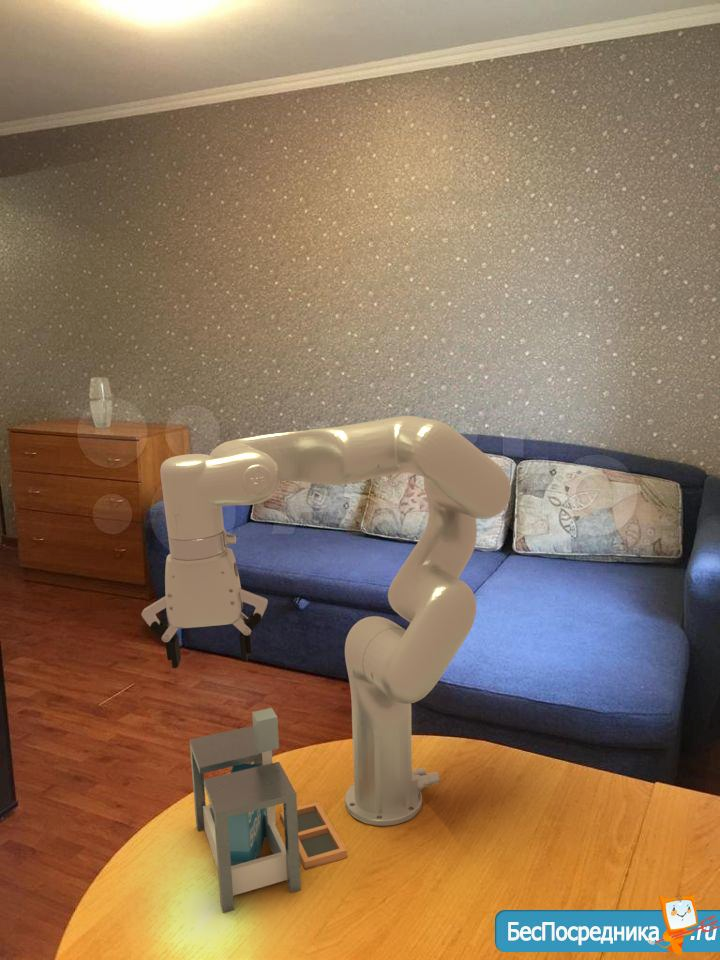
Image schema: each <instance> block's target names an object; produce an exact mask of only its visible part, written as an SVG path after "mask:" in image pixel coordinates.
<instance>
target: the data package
mask: <svg viewBox="0 0 720 960" xmlns="http://www.w3.org/2000/svg"><path fill="white" fill-rule="evenodd" d="M258 766H263V764H252V763H245V764H241V765H236V766H232V767H231V770H230V772H229V773H233V772H237V771H241V770H246V769H250V768H254V767H258ZM264 812H265V808H264V809H260V810H256V811H252V812H248V813H244V814H240V815H236V816H233V817H229V818H228V830H229V845H230V859H231V866H234V865H237V864H241V863H244V862H248V861H251V860H255V859H259V858H260V856H261V852H262V849H263V846H264V843H265V840H266V837H265V820H264Z"/></svg>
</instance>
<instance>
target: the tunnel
mask: <svg viewBox="0 0 720 960" xmlns="http://www.w3.org/2000/svg"><path fill="white" fill-rule="evenodd" d="M189 750H190V763H191V775H192V787H193V800H194V812H195V813H194V815H195V826H196V829H197V831H198V832H200V831H205V828H204V815H203V806H206V805H207V804H206V796H207V799H208V801H209V803H210V804H211V807H212V810H213V813H214V820H215V834H216V847H217V861H218V869H217V872H218V886H219V900H220V901H219V902H220V907H221V908H220V909H221V911H222V914H225V913H228V912H232V911H235V905H234V896H233V888H232V873H231V859H230V845H229V830H228V818H229V817H233V816H236V815H240V814H244V813H248V812H252V811H256V810H260V809H264V808H267V807H271V806H275V807H276V806H279V805H281V804H283V811H284V825H283V827H284V826H285V827H284V841H285V842H284V845H285V847H286V864H287V880H286V883H287V888H288V889H289V890H288V891H289V892H290V893H291V894H292V893H294V892H297V891H301V890H302V883H301V882H302V881H301V860H300V858H299V839H298V818H297V807H298V803H297V799H298V798H297V792H296V790H295V788H294V787H293V785H292V783H291V781H290V779H289V777H288V776H287V774H286V772H285V770H284V768H283V767H282V765H281V763H280V761H276V762H272V763H271V764H267V765H263V766H258V767H254V768H250V769H246V770H241V771H237V772H233V773H230V772H229V773H225V774H221V775H220V774H219V775H218V776H217V775H216V776H212V777H209V778H204V774H205V773H210V772H214V771H219V770H224V769H227V768H232V767H233V766H236V765H241V764H250V763H251V764H263V762H262V753H259V752H258V750H257V748H256V746H255V744H254V735H253V725H250V726H249V725H248V726H244V727H242V728H241V727H240V728H235V729H232V730H226V731H221V732H217V733H213V734H208V735H203V736H199V737H195V738H190V739H189ZM272 758H274V750H272ZM205 793H206V794H205ZM210 804H209V805H210Z"/></svg>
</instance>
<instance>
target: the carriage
mask: <svg viewBox="0 0 720 960" xmlns="http://www.w3.org/2000/svg"><path fill="white" fill-rule="evenodd" d="M251 713H252V714H251V717H252V726H253V735H254V744H255V746H256V748H257V750H258V752H259V753H262V762H263V765H267V764H271V763H273V757H272V750H273V751H276V750H279V749H280V738H279V719H278V715H277V714H276V713H275V711H274V709H273V707H269V708H264V709H260V710H256V711H251ZM203 815H204V828H205V830H204V832H205V835H206V839H207V841H208V844H209V847H210V850H211V853H212V856H213V859H214V860H213V861H214V863H215V866H216V869H217V870H218V861H217V847H216V834H215V820H214V813H213V810H212V807H211V804H206V806H203ZM276 818H277V817H276V805H275V806H271V807H267V808H265V812H264V820H265V840H266V841H267V843H268V846H269V849H270V850H271V853H272V854H270V855H265V856H262V857H259V859H255V860H251V861H248V862H244V863H241V864H237V865H234V866H231V873H232V888H233V897H234V896H237V895H240V894H243V893H247V892H250V891H252V890H257V889H260V888H264V887H267V886H271V885H274V884H277V883H280V882H283V881H284V882H285V881H287V864H286V845H285V842H284V840H283V838H282V836H281V835H280V832H279V830H278V828H277V825H276V824H277V823H276V821H277V819H276Z"/></svg>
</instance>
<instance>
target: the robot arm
mask: <svg viewBox="0 0 720 960" xmlns="http://www.w3.org/2000/svg"><path fill="white" fill-rule="evenodd" d="M159 471H160V482H161V488H162V497H163V507H164V513H165V514H164V515H165V521H166V530H167V538H168V545H169V554H168V555H166V559H165V571H164V573H165V574H164V588H165V591H164V592H165V595H164V596H163V597H161V598H159V599H158V600H156V601H155V602H153V603H151V604H150V605H148V606H147V607H145V608H144V609H143V610H142V612H141V614H140V615H141V617H142V619H143V620H144V621H145V622H146V625H148V626H149V629H150V630H151V631H152V632H153V633H155V634H156V635H158V637H160V638H161V640H162V642H164V643H165V649H166V657H167V661H171V668H172V669H177V668H178V667H179V665H180V662H181V661H182V656H181V655H182V654H181V653H182V652H181V647H180V638H179V634H177V631H178V630H179V629H191V628H192V629H193V628H202V627H203V628H204V627H213V626H224V625H225V626H226V625H233V626H234V627H235V628H236V629H238V631H240V632H239V637H238V639H239V647H240V657H241V658H240V659H241V662H243V663H248V658H249V654H253V641H252V640H253V639H252V631H253V630H254V629H255V628H256V626H258V625H259V623H260V622H261V620H262V618H263V616H264V613H265V611H266V609H267V607H268V599H267V598H265V597H263V596H261V595H257V594H255V593H252V592H250V591H247V590H245V589H243V588H242V586H241V580H240V575H239V574H240V573H239V569H238V565H237V561H236V558H235V554H234V551H233V549H232V548H230V547H229V546H231V545H233V544H234V545H237V537H236V533H232V534H231V533H228V531H226V528H225V525H224V516H223V506H251V505H253V506H254V505H257V504H261V503H263V502H266V501H267V500H269V499H271V498H272V497H273V496H274V495H275V493H276V492H277V491H278V489H279V486H280V483H281V482H304V483H305V482H306V483H313V484H320V485H325V486H326V485H327V486H328V485H329V486H333V485H334V486H337V485H339V486H342V485H348V484H349V485H350V484H353V483H358V482H363V481H368V480H373V479H377V478H381V477H388V476H392V475H396V474H402V473H403V474H404V473H409V474H413V475H416V476H419V477H422V478H423V488H424V491H425V492H424V493H425V496H426V501H427V505H428V517H427V519H428V520H427V523H426V527H425V529H424V531H423V533H422V534H421V536H420V538H419V540H418V541H417V543H416V545H415V546H414V547H413V549H412V550H411V552H410V554H409V555H408V556H407V559H406V560H405V561H404V563H403V564H402V565H401V568H399V570H398V571H397V573H396V575H395V577H394V578H393V580H392V581H391V583H390V586H389V588H388V591H387V600H388V602H389V606H390V607H391V609H392V610H393V611H394V612H395V613H397V614H398V615H399V616H400V617H401V618H403V619H405V620H406V621H407V622H409V625H408V626H407V628H406V629H405V628H403V627H402V626H400V625H399V624H397V623H396V622H394V621H392V620H390V619H389V618H385V617H383V616H375V615H372V616H367V617H364V618H362V619H360V620H358V621H357V622H356V623H355V624H354V625H353V626H352V627H351V628H350V630H349V632H348V633H347V636H346V639H345V642H344V643H345V644H344V658H345V665H346V671H347V675H348V682H349V688H350V697H351V699H350V700H351V722H352V723H351V725H352V726H351V727H352V754H353V755H352V756H353V758H352V759H353V761H352V762H353V784H352V785H351V786H349V788H348V789H347V790H346V792H345V795H344V798H345V799H344V803H345V808H346V810H347V812H348V813H349V815H351V816H352V817H353V818H354V819H356V820H357V821H360V822H362V823H365V824H367V825H373V826H381V827H382V826H384V827H385V826H394V825H395V826H396V825H399V824H401V823H405V822H408V821H409V820H411V819H413V817H415V816H417V814H418V813H419V812H420V810H421V808H422V804H423V796H422V795H423V794H422V793H421V791H423V789H424V788H425V787H431V786H434V785H438V784H440V781H441V779H440V775H439V773H438V772H437V771H433V772H428V773H427V772H426V769H425V768H424V767H419V768H415V769H413V757H412V756H413V753H412V752H413V751H412V750H413V749H412V740H413V739H412V704H414V703H417V702H419V701H420V700H422V699H424V698H425V697H427V695H429V693H430V692H431V691H433V689H434V687H435V686H436V685H437V684H438V682H439V681H440V679H441V677H442V676H443V675H444V673H445V672H446V670H447V668H448V667H449V666H450V663H452V660H453V659H454V658H455V656H456V655H457V653H458V652H459V650H460V649H461V646H462V645H463V643H464V642H465V641H466V638H467V636H468V635H469V633H470V632H471V630H472V628H473V625H474V623H475V619H476V614H477V600H476V596H475V594H474V591H473V589H472V588H471V587H470V586H469V585H467V583H466V582H464V580H462V579H461V578H460V577H461V575H462V573H463V571H464V569H465V568H466V566H467V564H468V563H469V561H470V559H471V557H472V555H473V553H474V550H475V547H476V543H477V537H478V536H477V534H478V533H477V532H478V531H477V530H478V527H477V519H480V520H486V519H492V518H494V517H497V516H498V515H500V514H501V513H503V511H504V510H505V509H506V508H507V506H508V504H509V502H510V499H511V493H512V489H511V488H512V486H511V482H510V479H509V477H508V475H507V473H506V472H505V470H504V469H503V468H502V467H501V466H499V465H498V463H496V462H495V460H493V459H491V458H490V457H489V456H488V455H487V454H485V453H484V452H483V451H482V450H481V449H479V447H477V446H475V445H474V444H473V443H472V442H471V441H470V440H468V439H467V438H466V437H464V436H463V435H462V434H461V433H460V432H458V431H457V430H455V429H454V427H452V426H451V425H448V424H447V423H445V422H442V421H440V420H435V419H430V418H424V417H420V416H414V415H401V416H399V415H398V416H394V417H387V418H382V419H381V418H380V419H376V420H371V421H366V422H359V423H358V422H357V423H354V424H346V425H340V426H332V427H326V428H325V427H323V428H314V429H307V430H299V431H298V430H297V431H287V432H278V433H269V434H268V433H267V434H261V435H255V436H250V437H242V438H237V439H233V440H229V441H225V442H223V443H220V444H218V445H217V446H216V447H214V448H213V450H212V451H211V452H210V454H204V453H189V454H181V455H175V456H172V457H169V458H167V459H165V460H164V461H163V462H162V464H161V466H160V470H159ZM244 603H245V604H248V605H250V606H253V607H254V608H255V609H254V612H253V613H252V614H250V616H249V617H248V616H247V615H246V614H244V613H243V612H242V611H243V609H244ZM165 609H166V610H165ZM163 610H165V611H166V618H167V623H168V624H166V623H165V622H164V621H162V620H160V619H159V618H158V617H157V614H158V613H160V612H162V611H163Z"/></svg>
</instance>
